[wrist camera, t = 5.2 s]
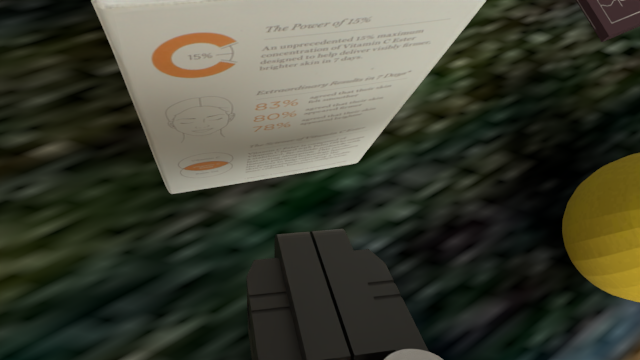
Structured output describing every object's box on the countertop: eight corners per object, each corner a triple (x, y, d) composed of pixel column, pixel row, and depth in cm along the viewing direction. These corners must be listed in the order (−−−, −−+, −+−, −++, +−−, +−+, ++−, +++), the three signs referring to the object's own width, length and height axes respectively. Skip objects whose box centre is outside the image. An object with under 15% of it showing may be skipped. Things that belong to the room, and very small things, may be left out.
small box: (327, 33, 24) (438, -271, 12) (360, 165, 23) (523, -26, 11) (142, 53, 23) (50, -282, 10) (165, 197, 21) (90, 11, 9)
